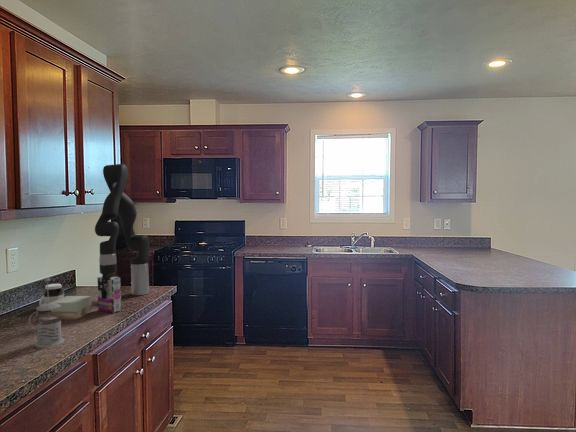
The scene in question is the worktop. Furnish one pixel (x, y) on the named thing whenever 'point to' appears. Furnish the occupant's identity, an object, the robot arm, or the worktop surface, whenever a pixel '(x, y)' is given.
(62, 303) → the sage block
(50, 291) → the spread jar
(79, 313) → the maple block
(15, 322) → the worktop surface
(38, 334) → the french press
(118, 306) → the candy bar box
